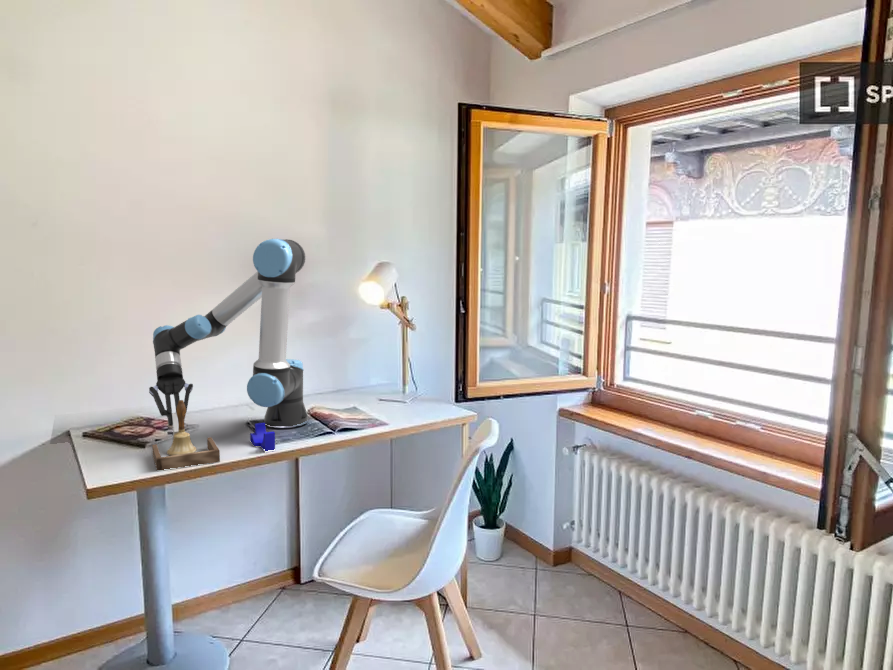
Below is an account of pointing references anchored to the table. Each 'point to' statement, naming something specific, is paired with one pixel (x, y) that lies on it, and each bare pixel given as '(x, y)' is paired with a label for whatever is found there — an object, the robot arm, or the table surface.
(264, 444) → the cable clip
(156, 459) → the walnut corral
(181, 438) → the hand bell
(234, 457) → the table surface
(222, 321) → the robot arm
